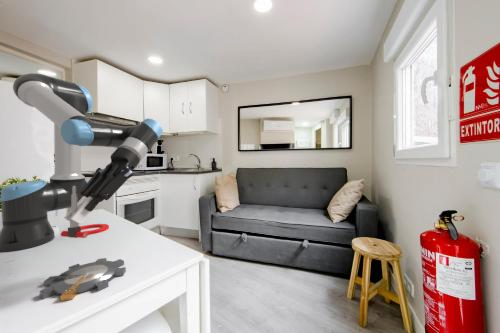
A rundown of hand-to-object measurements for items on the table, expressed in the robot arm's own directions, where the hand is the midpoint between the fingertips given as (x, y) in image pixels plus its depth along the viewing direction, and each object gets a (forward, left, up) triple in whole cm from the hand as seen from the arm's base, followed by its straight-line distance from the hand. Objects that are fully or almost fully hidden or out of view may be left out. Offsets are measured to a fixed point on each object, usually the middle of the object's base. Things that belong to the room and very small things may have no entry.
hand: (72, 220), depth 52 cm
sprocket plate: (0, +3, -16) cm, 16 cm away
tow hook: (-1, +4, -4) cm, 6 cm away
